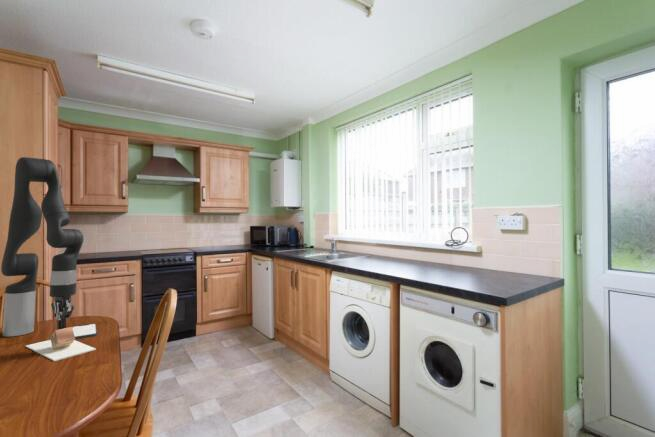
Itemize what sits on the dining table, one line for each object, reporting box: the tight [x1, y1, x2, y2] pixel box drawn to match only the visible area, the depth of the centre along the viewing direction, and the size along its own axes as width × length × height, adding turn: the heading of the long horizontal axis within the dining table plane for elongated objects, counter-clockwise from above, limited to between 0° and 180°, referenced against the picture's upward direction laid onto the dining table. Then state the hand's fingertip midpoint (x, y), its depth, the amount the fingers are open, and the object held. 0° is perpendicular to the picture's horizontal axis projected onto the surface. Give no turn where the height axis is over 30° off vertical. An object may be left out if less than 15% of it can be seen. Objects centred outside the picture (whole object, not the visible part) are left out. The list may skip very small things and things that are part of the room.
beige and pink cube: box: [49, 326, 76, 350], centre depth 114 cm, size 5×5×5 cm
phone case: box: [71, 323, 98, 340], centre depth 132 cm, size 9×2×16 cm
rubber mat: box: [25, 339, 97, 362], centre depth 114 cm, size 25×12×1 cm, turn 60°
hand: (61, 329), depth 115 cm, fingers closed
